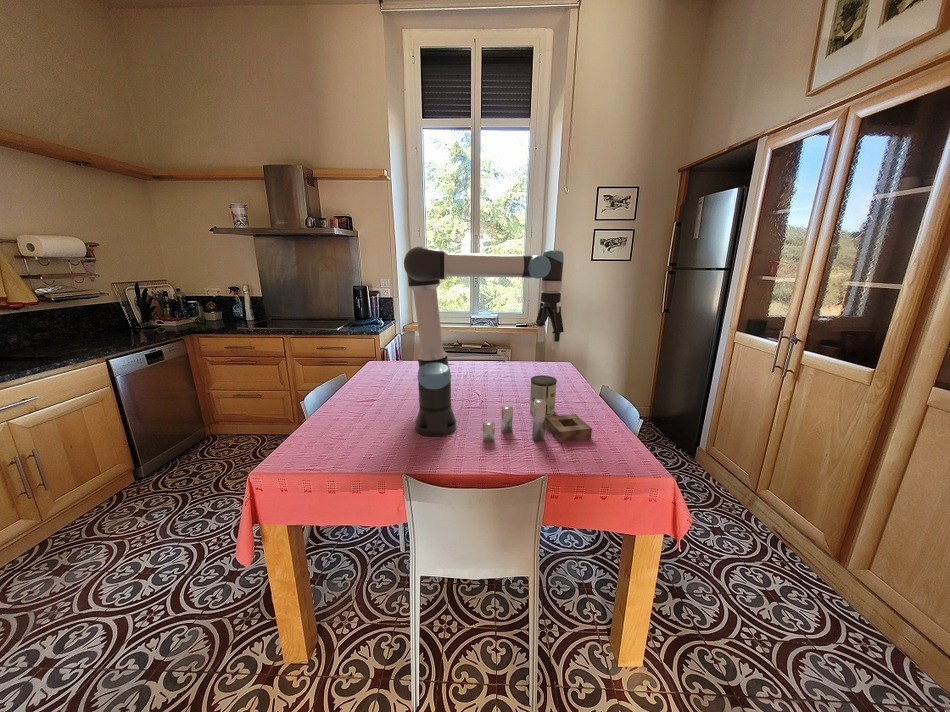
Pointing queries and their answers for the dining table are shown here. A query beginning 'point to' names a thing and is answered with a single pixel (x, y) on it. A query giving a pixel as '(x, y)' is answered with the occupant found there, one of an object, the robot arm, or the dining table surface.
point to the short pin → (488, 431)
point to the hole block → (568, 428)
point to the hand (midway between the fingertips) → (547, 345)
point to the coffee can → (543, 393)
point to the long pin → (539, 420)
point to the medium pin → (506, 419)
